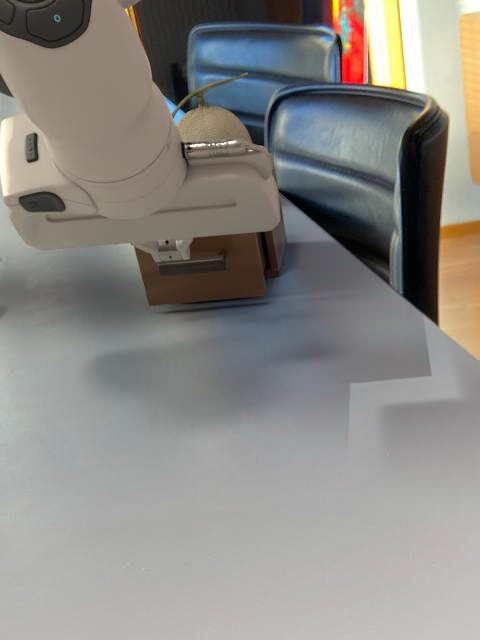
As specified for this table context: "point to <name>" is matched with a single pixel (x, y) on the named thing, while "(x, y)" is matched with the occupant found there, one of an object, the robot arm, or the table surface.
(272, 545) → the table surface
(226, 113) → the fruit
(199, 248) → the drawer
